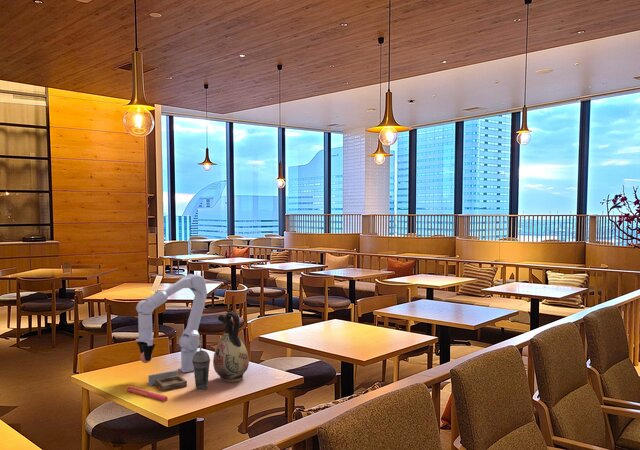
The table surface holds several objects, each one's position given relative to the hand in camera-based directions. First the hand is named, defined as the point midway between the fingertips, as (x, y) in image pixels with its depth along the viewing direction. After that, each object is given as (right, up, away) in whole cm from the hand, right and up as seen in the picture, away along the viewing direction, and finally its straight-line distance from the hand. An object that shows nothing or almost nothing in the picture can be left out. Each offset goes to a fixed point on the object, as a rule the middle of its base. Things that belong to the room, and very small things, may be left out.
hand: (146, 358), depth 215 cm
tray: (+14, -9, -9) cm, 19 cm away
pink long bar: (+8, -9, -20) cm, 24 cm away
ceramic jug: (+38, -8, -3) cm, 39 cm away
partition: (+9, -9, -5) cm, 13 cm away
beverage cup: (+28, -9, -14) cm, 32 cm away
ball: (0, -2, 0) cm, 2 cm away
